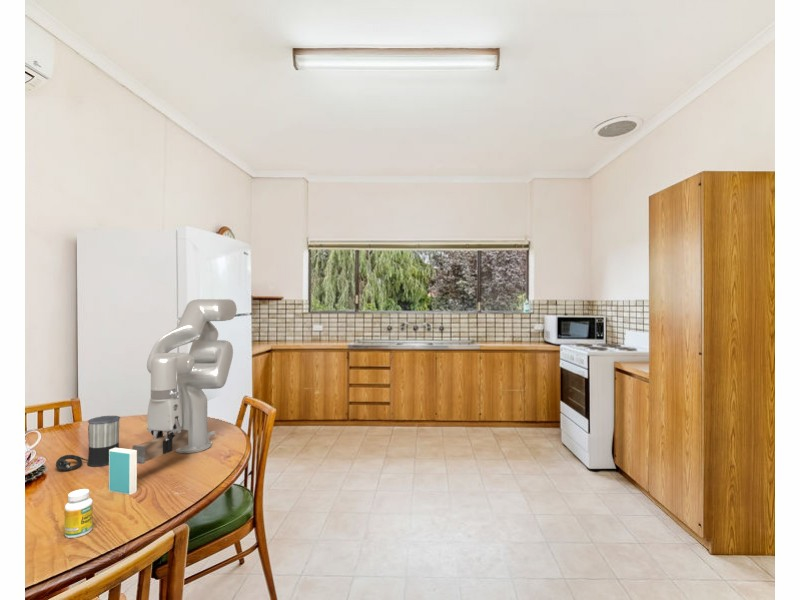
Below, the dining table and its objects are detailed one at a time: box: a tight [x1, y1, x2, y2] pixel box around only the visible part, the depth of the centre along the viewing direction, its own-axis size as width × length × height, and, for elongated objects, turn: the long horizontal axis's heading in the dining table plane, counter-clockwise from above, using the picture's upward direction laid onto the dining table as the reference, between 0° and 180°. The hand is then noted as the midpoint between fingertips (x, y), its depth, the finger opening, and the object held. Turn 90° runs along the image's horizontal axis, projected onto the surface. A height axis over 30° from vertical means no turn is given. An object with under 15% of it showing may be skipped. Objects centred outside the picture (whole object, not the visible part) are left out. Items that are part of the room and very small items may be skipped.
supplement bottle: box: [64, 488, 94, 539], centre depth 101 cm, size 5×5×10 cm
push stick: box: [131, 430, 188, 465], centre depth 137 cm, size 19×4×5 cm, turn 164°
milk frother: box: [55, 415, 121, 471], centre depth 143 cm, size 14×16×15 cm
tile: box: [108, 447, 138, 495], centre depth 123 cm, size 2×8×12 cm, turn 73°
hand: (163, 451), depth 137 cm, fingers closed on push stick, 2 cm apart
